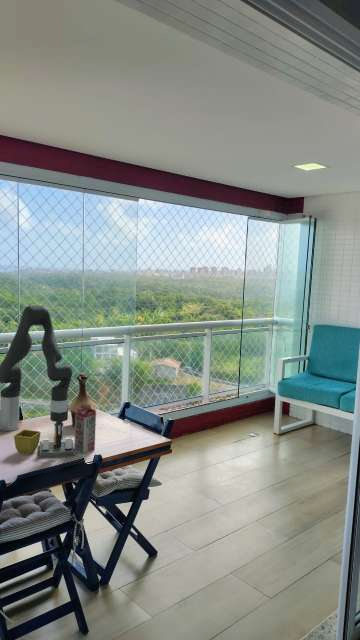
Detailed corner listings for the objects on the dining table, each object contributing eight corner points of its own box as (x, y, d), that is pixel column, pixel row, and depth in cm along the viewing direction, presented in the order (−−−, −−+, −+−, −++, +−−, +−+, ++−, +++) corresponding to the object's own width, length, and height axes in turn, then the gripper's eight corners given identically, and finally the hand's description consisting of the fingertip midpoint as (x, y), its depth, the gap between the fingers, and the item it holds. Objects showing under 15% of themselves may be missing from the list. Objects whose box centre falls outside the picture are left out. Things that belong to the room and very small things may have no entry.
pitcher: (62, 421, 268) (64, 371, 265) (93, 419, 275) (95, 370, 272) (70, 431, 252) (71, 378, 249) (102, 428, 259) (103, 376, 257)
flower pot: (31, 457, 216) (31, 437, 215) (13, 455, 217) (13, 435, 217) (40, 450, 224) (41, 431, 223) (23, 448, 226) (23, 429, 225)
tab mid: (53, 444, 226) (54, 435, 225) (53, 443, 228) (54, 433, 227) (59, 444, 226) (59, 434, 226) (59, 442, 228) (59, 433, 228)
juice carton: (85, 446, 232) (86, 401, 230) (94, 450, 228) (96, 403, 226) (74, 449, 227) (75, 403, 225) (83, 453, 223) (84, 406, 221)
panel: (39, 457, 216) (39, 452, 215) (40, 445, 231) (40, 440, 231) (74, 456, 219) (74, 451, 219) (72, 443, 235) (72, 439, 235)
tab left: (42, 449, 218) (42, 439, 218) (42, 448, 220) (42, 438, 220) (48, 449, 219) (48, 439, 219) (48, 447, 221) (48, 438, 221)
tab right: (65, 448, 221) (65, 439, 221) (65, 447, 223) (65, 437, 223) (71, 448, 222) (71, 438, 221) (71, 446, 224) (71, 437, 223)
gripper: (50, 405, 222) (49, 443, 223) (50, 413, 209) (50, 453, 211) (67, 405, 224) (66, 442, 225) (68, 413, 211) (67, 452, 213)
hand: (58, 447), depth 218 cm, fingers closed
